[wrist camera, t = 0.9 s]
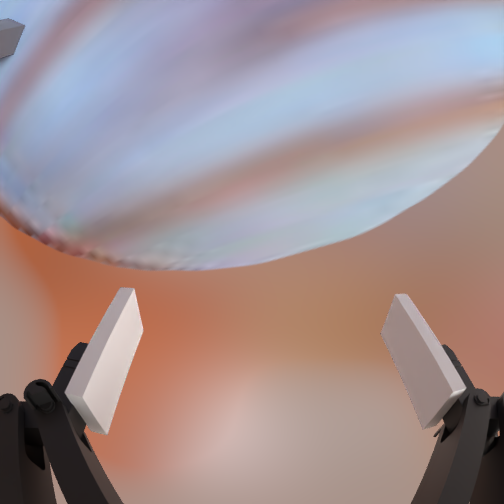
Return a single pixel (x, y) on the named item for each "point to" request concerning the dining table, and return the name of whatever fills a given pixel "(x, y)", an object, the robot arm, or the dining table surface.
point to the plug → (9, 36)
